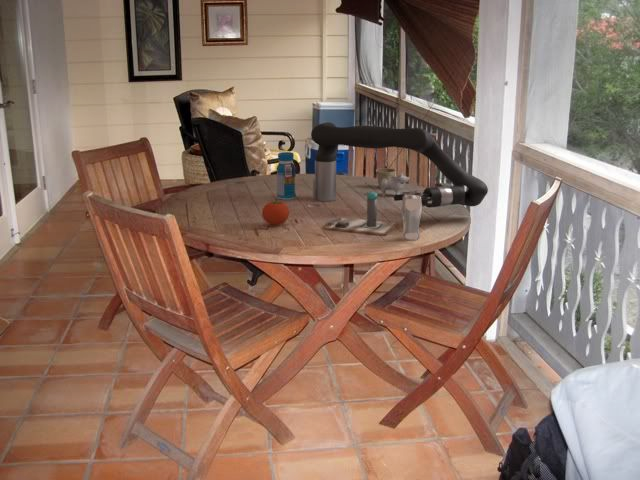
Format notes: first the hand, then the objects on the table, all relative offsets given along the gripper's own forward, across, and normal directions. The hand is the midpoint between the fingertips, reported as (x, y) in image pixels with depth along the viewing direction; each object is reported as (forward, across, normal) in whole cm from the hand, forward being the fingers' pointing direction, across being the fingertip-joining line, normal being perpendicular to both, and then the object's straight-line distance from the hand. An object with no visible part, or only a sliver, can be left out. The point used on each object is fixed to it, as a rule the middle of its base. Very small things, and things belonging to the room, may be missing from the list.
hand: (398, 200), depth 252 cm
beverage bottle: (+28, -58, +9) cm, 65 cm away
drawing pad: (+14, -3, +10) cm, 17 cm away
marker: (+11, 0, +9) cm, 14 cm away
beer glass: (+3, +17, +10) cm, 20 cm away
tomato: (+44, -16, +10) cm, 47 cm away
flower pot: (-22, -64, +10) cm, 68 cm away
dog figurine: (-20, -48, +10) cm, 52 cm away
